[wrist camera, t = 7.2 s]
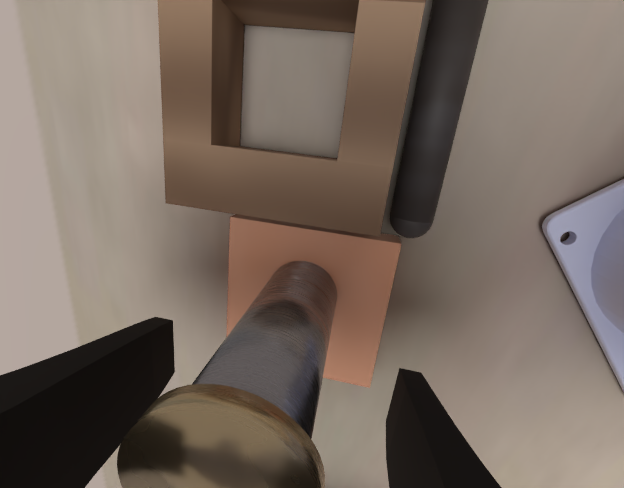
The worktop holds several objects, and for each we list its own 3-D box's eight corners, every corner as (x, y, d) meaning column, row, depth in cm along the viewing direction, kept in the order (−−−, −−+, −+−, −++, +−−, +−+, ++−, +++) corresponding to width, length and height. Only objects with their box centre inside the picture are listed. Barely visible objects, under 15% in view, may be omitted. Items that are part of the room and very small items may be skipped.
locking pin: (363, 309, 13) (363, 547, 5) (291, 344, 14) (202, 582, 6) (314, 235, 12) (230, 378, 4) (243, 277, 13) (79, 451, 6)
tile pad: (241, 211, 13) (230, 217, 12) (398, 235, 13) (401, 243, 11) (235, 341, 16) (226, 355, 15) (369, 369, 15) (369, 387, 14)
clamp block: (199, -64, 11) (153, -126, 8) (494, -55, 9) (537, -124, 7) (200, 200, 14) (165, 210, 11) (423, 234, 12) (437, 254, 10)
